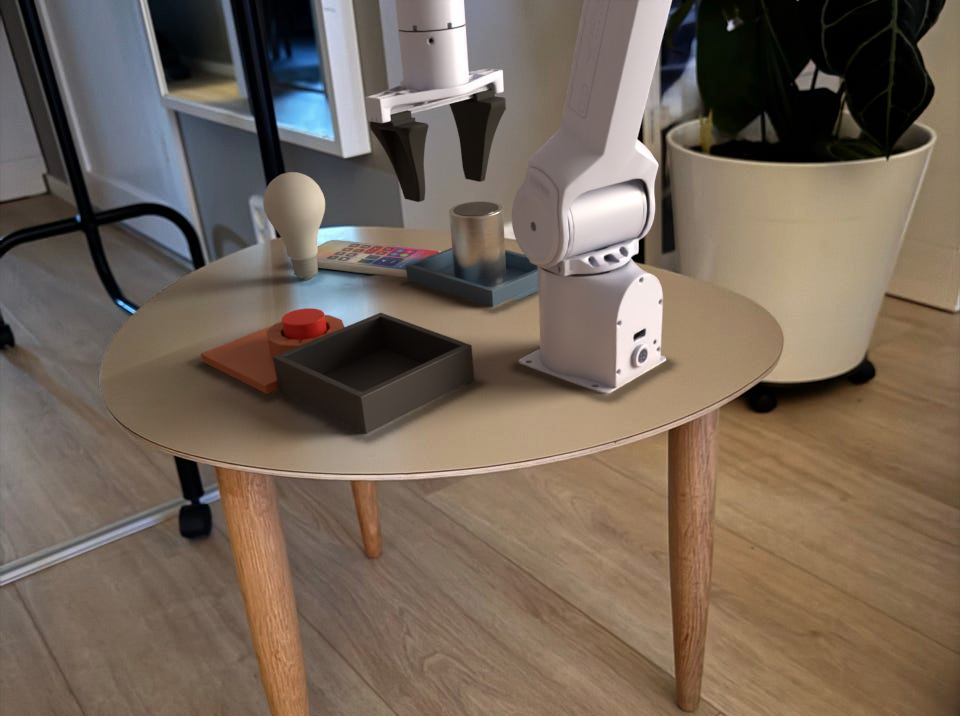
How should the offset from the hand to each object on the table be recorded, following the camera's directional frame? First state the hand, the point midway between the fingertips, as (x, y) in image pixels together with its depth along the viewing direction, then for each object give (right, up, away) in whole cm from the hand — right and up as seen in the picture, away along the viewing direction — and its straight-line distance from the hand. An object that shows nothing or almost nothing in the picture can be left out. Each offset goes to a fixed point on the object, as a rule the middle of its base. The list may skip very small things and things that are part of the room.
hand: (445, 189), depth 87 cm
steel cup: (+3, -7, +8) cm, 11 cm away
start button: (-12, -14, -7) cm, 20 cm away
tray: (+3, -7, +8) cm, 11 cm away
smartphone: (-9, -3, +15) cm, 18 cm away
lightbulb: (-15, -6, +12) cm, 20 cm away
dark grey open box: (-5, -20, -11) cm, 23 cm away
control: (-14, -17, -5) cm, 23 cm away
